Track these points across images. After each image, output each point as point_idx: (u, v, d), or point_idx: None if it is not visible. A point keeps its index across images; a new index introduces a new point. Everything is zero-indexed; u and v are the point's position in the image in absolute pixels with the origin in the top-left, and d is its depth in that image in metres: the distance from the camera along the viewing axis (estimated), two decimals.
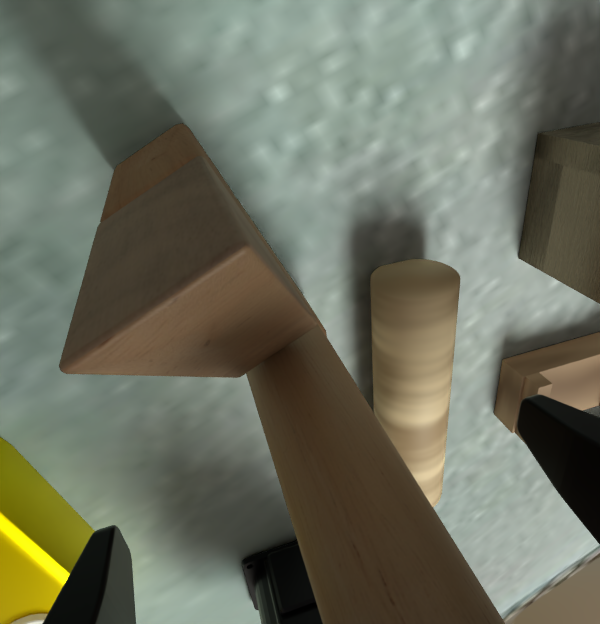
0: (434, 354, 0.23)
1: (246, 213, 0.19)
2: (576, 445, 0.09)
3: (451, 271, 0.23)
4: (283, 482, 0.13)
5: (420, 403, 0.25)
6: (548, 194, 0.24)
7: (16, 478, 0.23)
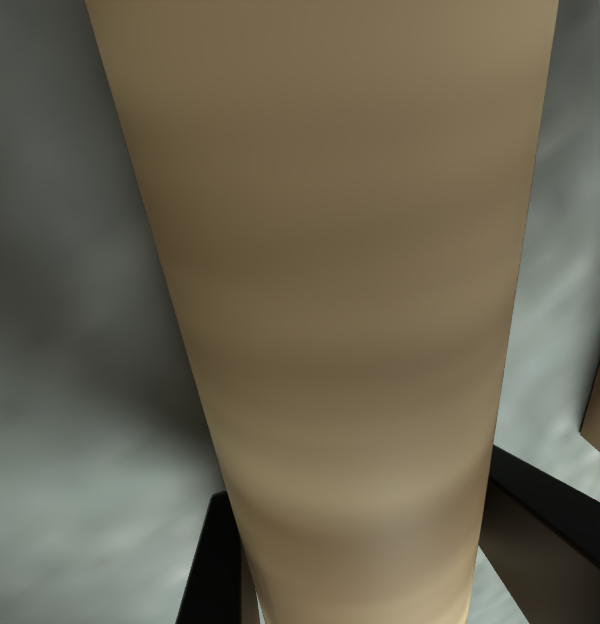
0: (425, 48, 0.03)
1: None
2: None
3: None
4: None
5: (357, 419, 0.05)
6: None
7: None
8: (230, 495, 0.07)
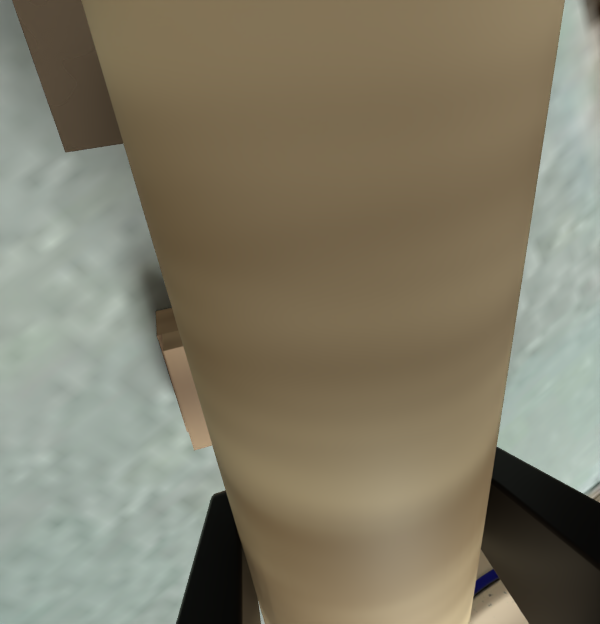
0: (430, 31, 0.03)
1: None
2: None
3: None
4: None
5: (361, 417, 0.05)
6: None
7: None
8: (229, 496, 0.07)
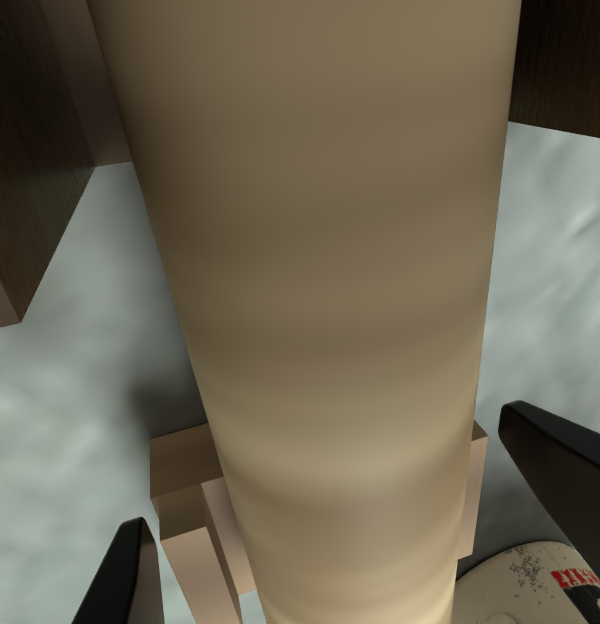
0: (391, 46, 0.03)
1: None
2: (554, 453, 0.09)
3: None
4: None
5: (340, 390, 0.05)
6: None
7: None
8: (224, 471, 0.07)
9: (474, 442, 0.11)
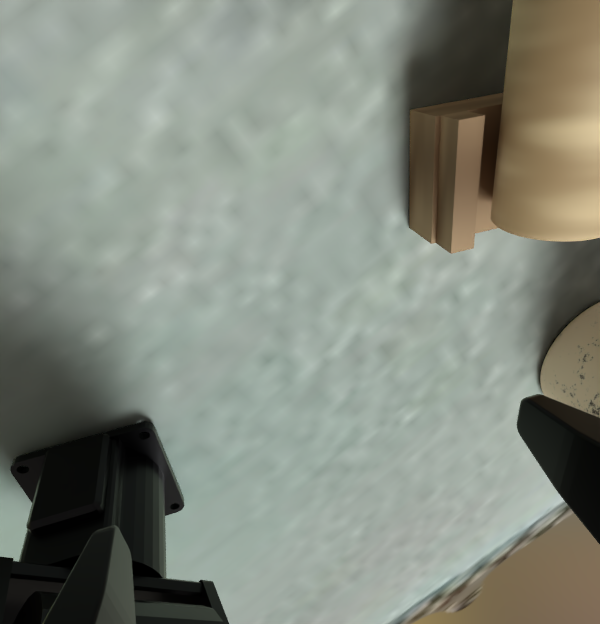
0: None
1: None
2: (576, 445, 0.09)
3: None
4: None
5: None
6: None
7: None
8: (534, 0, 0.13)
9: None
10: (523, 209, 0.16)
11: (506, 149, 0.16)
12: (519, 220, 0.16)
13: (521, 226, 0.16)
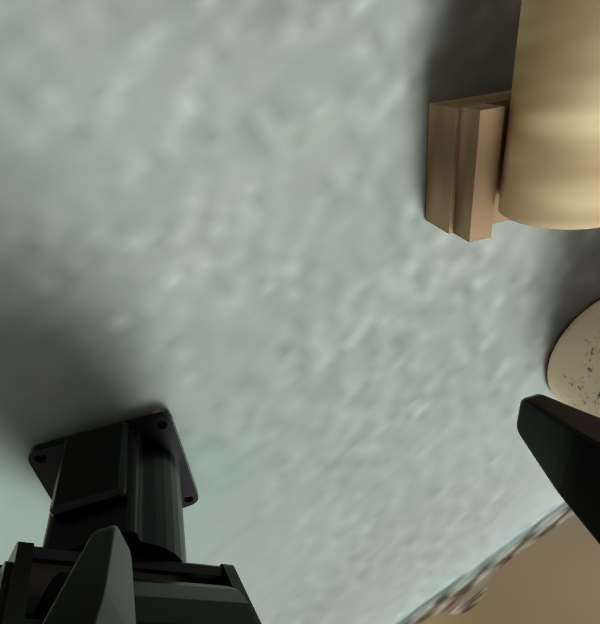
0: None
1: None
2: (576, 445, 0.09)
3: None
4: None
5: None
6: None
7: None
8: None
9: None
10: (521, 196, 0.17)
11: (510, 138, 0.17)
12: (518, 207, 0.17)
13: (519, 212, 0.17)
